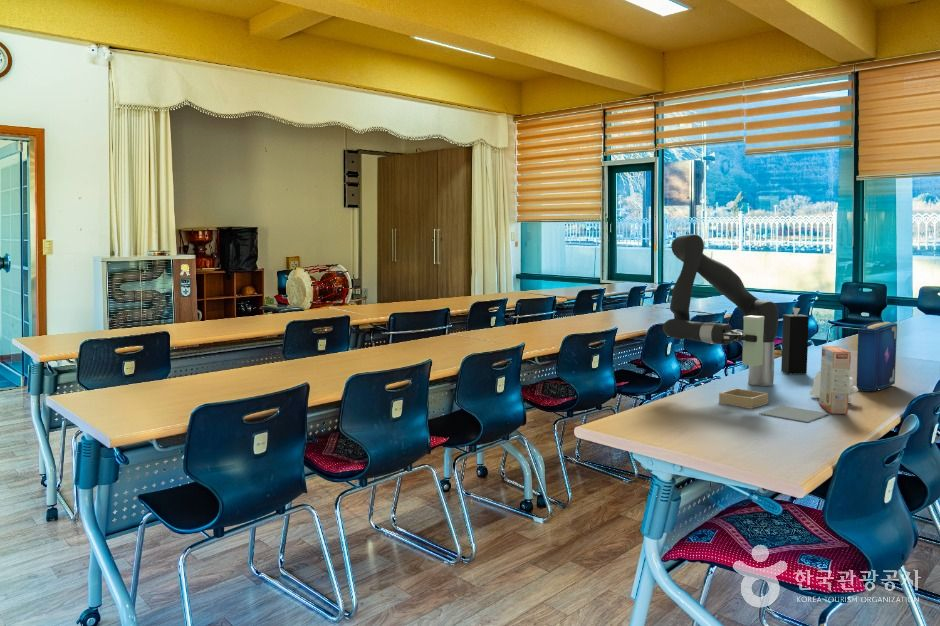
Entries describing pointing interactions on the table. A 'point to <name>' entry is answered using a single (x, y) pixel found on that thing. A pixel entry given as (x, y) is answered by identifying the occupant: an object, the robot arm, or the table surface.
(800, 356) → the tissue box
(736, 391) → the wooden square frame
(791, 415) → the mat
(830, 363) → the cracker box
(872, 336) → the book
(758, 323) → the tea tin
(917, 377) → the table surface
